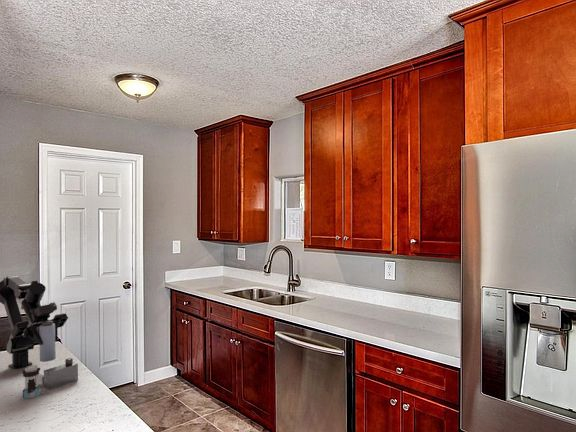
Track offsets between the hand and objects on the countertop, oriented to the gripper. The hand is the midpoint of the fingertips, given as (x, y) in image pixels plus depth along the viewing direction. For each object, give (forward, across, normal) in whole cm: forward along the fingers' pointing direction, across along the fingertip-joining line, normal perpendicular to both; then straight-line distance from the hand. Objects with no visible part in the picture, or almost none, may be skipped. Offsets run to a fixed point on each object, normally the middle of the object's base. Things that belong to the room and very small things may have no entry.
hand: (49, 342), depth 159 cm
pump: (+4, 0, +6) cm, 7 cm away
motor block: (+13, 0, +7) cm, 15 cm away
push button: (+17, -11, +3) cm, 20 cm away
